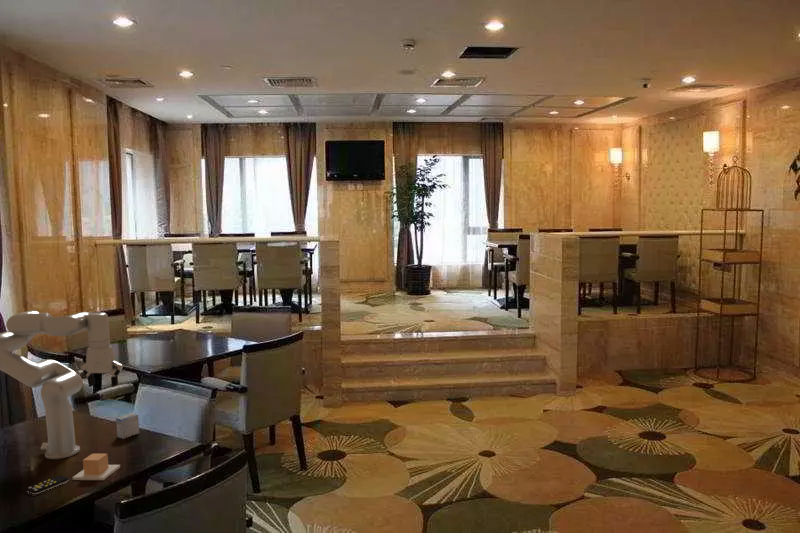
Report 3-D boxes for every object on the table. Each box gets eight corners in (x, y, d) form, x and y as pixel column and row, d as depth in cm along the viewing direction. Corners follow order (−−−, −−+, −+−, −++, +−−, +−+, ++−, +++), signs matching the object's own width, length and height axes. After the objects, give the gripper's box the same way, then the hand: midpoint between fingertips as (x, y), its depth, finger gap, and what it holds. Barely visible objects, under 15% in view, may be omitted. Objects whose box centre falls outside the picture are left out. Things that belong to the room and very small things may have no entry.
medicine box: (134, 431, 273) (132, 412, 273) (139, 433, 271) (138, 414, 270) (117, 437, 267) (115, 418, 266) (122, 439, 265) (121, 419, 264)
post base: (72, 479, 226) (71, 466, 225) (90, 467, 237) (89, 454, 236) (103, 480, 224) (102, 466, 224) (120, 467, 235) (119, 454, 235)
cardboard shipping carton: (84, 474, 228) (82, 460, 227) (93, 467, 234) (92, 453, 233) (99, 474, 227) (98, 460, 226) (108, 467, 233) (107, 453, 232)
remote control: (70, 482, 224) (70, 477, 224) (35, 497, 214) (34, 491, 213) (60, 479, 228) (60, 473, 227) (25, 493, 217) (24, 488, 217)
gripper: (73, 346, 241) (77, 388, 243) (115, 345, 240) (118, 388, 241) (85, 342, 249) (88, 383, 251) (125, 341, 247) (128, 383, 249)
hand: (103, 385), depth 246 cm, fingers open, 9 cm apart
